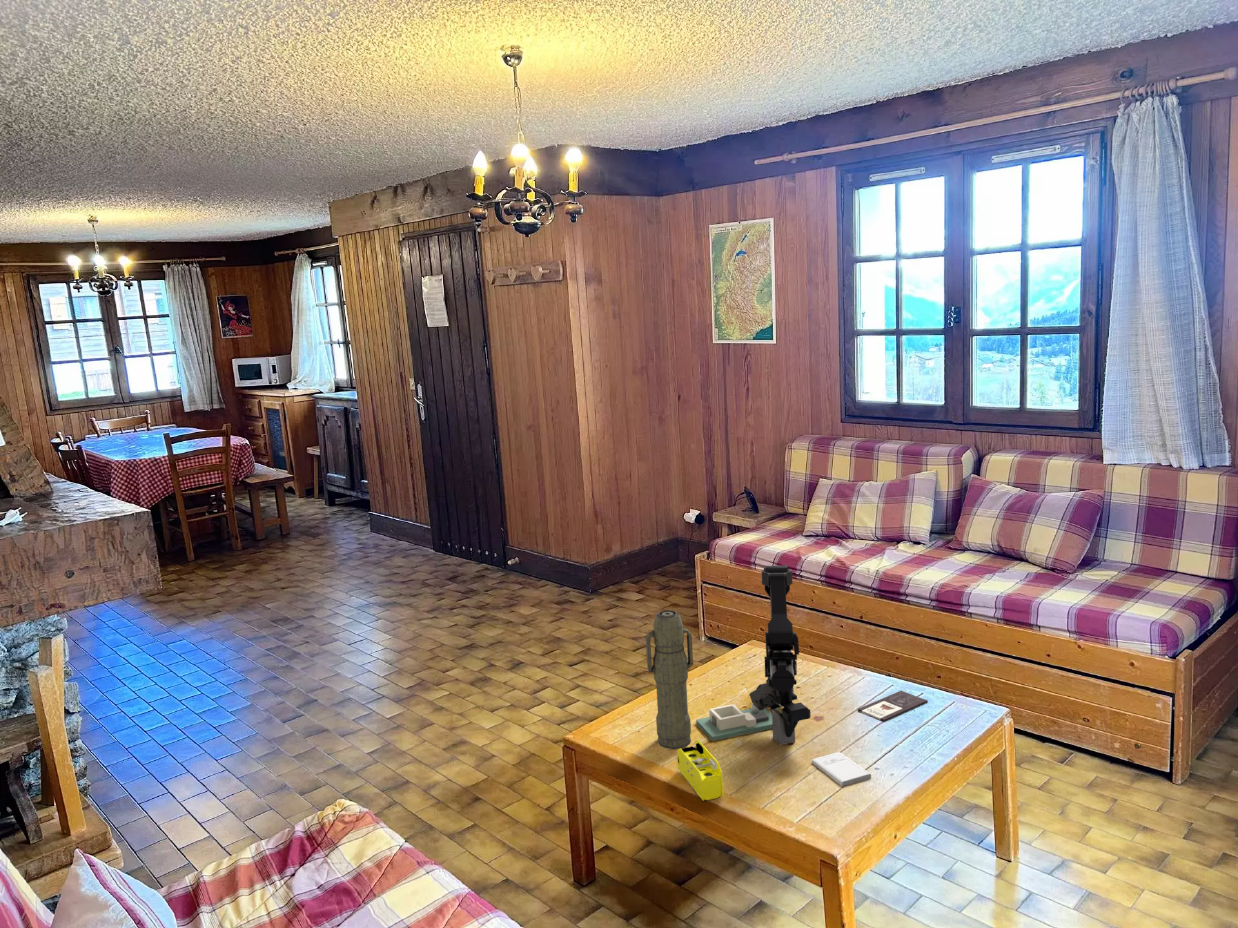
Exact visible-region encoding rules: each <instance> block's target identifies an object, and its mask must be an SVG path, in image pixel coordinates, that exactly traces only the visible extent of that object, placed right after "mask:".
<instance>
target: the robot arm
mask: <svg viewBox="0 0 1238 928" xmlns="http://www.w3.org/2000/svg"><path fill="white" fill-rule="evenodd" d="M760 570H761V573H760V575H761V585H763V586H764V591H765V593H766V594H767V596H768V597H769V600H770V601H769V602H770V603H769V604H770V620H769V621H768V623H767V631H766V632H765V633H764V634H765V654H766V655H765V656H764V658H763V659H764V677H765V678H767V679H766V680H765V683H761V684H759V685H757V686H756V689H754V690H752V691H751V692H749V694H748V696H749V699H750V700H751V702H752V704H753V705H754V706H755V707H757V708H758V710H764V709H765V708H766V709H768V708H769V710H770V713H771V714H772V709H775V708H780V707H784V708H783V709H782V714H778V715H779V716H780V717H781V718H782V719H783V720H784V726H785V732H786V736H787V737H791V735H792V733H793V731H794V729H795V730H796V727H797V725H798V724H799V722H801V721H804V720H805V721H806V720H809V719H811V713H812V711H811V709H810V708H808V707H807V706H806V705H805V704H803V703H802V702H796V703H794V702H793V701H796V700H798V696H797V695H796V694H795V691H794V690H795V689H794V686H795V685H797V684H798V683H797V679H795V676H796V675H797V672H798V670H797V669H798V666H797V665H798V664H797V660H798V656H799V655H800V647H799V646H800V645H799V636H798V635H797V633H796V631H794V629H793V628H794V627H793V623H792V622H791V620H790V619H789V618H788V607H787V595H788V593H789V592H790V590H791V585H793V584H794V583H793V570H792V569H790V568H789V567H788V565H786V564H785V565H765V567H764V568H763V569H760ZM792 650H794V651H793V652H792Z"/></svg>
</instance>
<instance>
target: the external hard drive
mask: <svg viewBox="0 0 1238 928" xmlns="http://www.w3.org/2000/svg"><path fill="white" fill-rule="evenodd" d="M811 763H812V764H813V765H814V766H815V767H817V768H818V770H820V771H821V772H823V773H824V774H825V775H827V776H828V777H829V778H831V779H832V781H835V782H836V783H837V784H838V785H839V786H841V787H845V786H847V785H851V784H855V783H858V782H861V781H865V780H869V779H871V778H872V773H870V772H868V770H866V769H865V768H863V767H861V766H860V765H858V764H857V763H855V762H854V761H853V760H851V759H850V758H849V757H847V756H846V755H844V754H843V753H842V752H839V751H837V752H834V753H830V754H827V755H826V754H825V755H821V756H820V757H815V758H812V759H811Z"/></svg>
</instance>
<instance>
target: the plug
mask: <svg viewBox="0 0 1238 928" xmlns="http://www.w3.org/2000/svg"><path fill="white" fill-rule="evenodd" d="M783 708H784V707H780V708H775V709H772V713H771V714H772V727H773V728H772V739H773V740H774V741H775V742H777V744H778V745H779V746H783V745H787V744H791V743H795V742H796V731H795V730H796V728H795V729H794V731H793V733H792V735H791V737H787V736H786V732H785V726H784V720H783V719H782V718H781V717H780V716H779V715H778V714H782V709H783Z"/></svg>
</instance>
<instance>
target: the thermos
mask: <svg viewBox="0 0 1238 928" xmlns="http://www.w3.org/2000/svg"><path fill="white" fill-rule="evenodd" d="M685 634H686V644H687V646H686V647H687V648H686V649H687V654H686V651H685V646H684V643H685V639H684V638H685V637H684V635H685ZM651 638H653V639H654V641H653V642H654V645H655V646H654V652H653V653H654V654H653V658H652V648H651ZM645 650H646V664H647V671H648V673H652V674H653V679H654V681H655V686H656V700H657V701H656V703H657V705H656V706H657V714H656V717H655V722H656V735H657V743H658V745H659V746H660V747H661V748H663V749H668V750H678V749H680V748H681V749H682V748H687V747H689V745H691V742H692V739H691V734H692V725H691V724H692V723H691V722H692V721H691V717H690V714H689V708H688V706H689V705H688V687H687V680H688V678H689V673H688V672H689V669H691V667H693V665H694V657H693V656H694V655H693V636H692V633H691V632H690V630H689V629H688V628H686V627H684V624H683V621H682V618H681V615H680V613H679V612H677V611H675V610H671V609H670V610H661V611H660V612H657V613H656V614H655V617H654V620H653V629H652V630H651V631H649V632H648V633H647V634H646V637H645Z"/></svg>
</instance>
